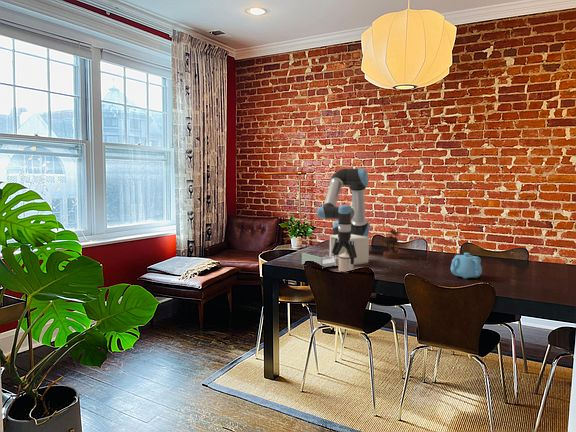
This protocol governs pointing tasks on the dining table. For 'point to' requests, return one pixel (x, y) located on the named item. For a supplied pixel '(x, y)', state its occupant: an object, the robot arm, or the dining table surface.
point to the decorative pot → (466, 266)
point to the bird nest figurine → (390, 241)
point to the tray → (319, 259)
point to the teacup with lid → (343, 261)
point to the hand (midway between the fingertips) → (343, 267)
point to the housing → (360, 247)
